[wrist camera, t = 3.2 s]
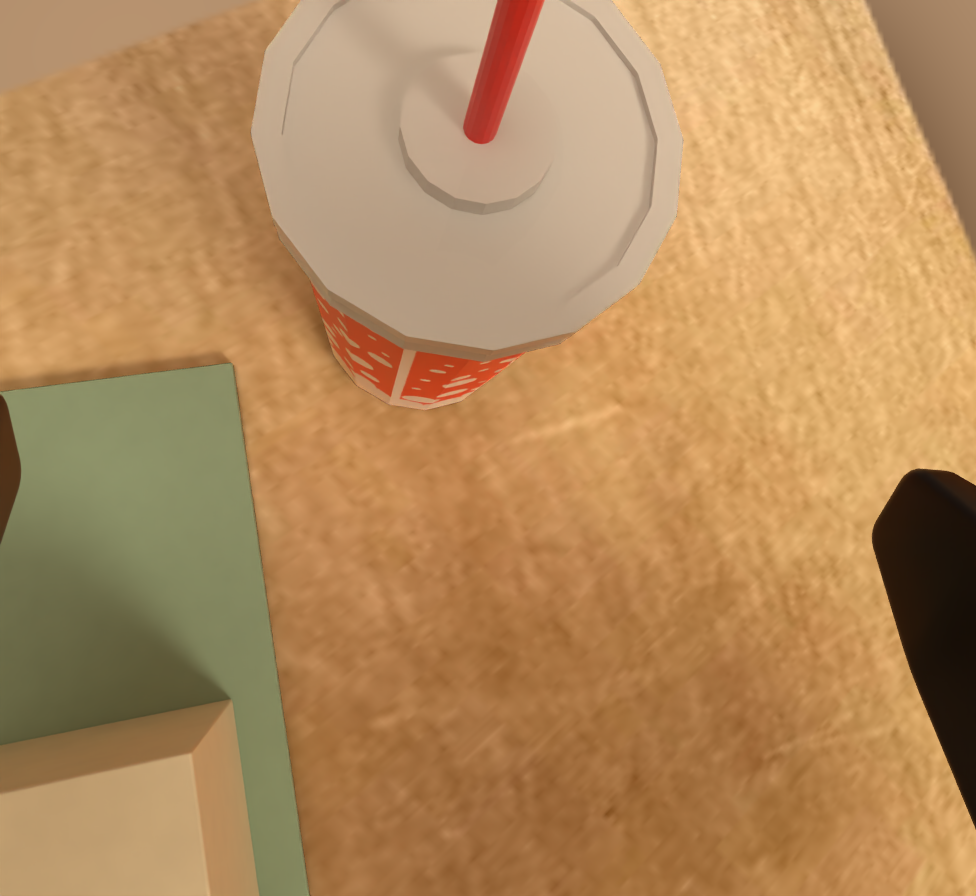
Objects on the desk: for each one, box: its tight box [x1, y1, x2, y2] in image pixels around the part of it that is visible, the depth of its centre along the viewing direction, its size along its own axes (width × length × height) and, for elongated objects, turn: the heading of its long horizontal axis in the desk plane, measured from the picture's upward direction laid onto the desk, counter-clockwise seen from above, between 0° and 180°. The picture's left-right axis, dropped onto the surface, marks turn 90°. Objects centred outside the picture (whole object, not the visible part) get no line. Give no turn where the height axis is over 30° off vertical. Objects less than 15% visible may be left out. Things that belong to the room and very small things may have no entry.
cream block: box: [0, 699, 259, 896], centre depth 15 cm, size 5×5×5 cm
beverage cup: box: [251, 0, 683, 410], centre depth 13 cm, size 6×6×14 cm
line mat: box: [0, 363, 310, 896], centre depth 17 cm, size 22×7×1 cm, turn 10°
